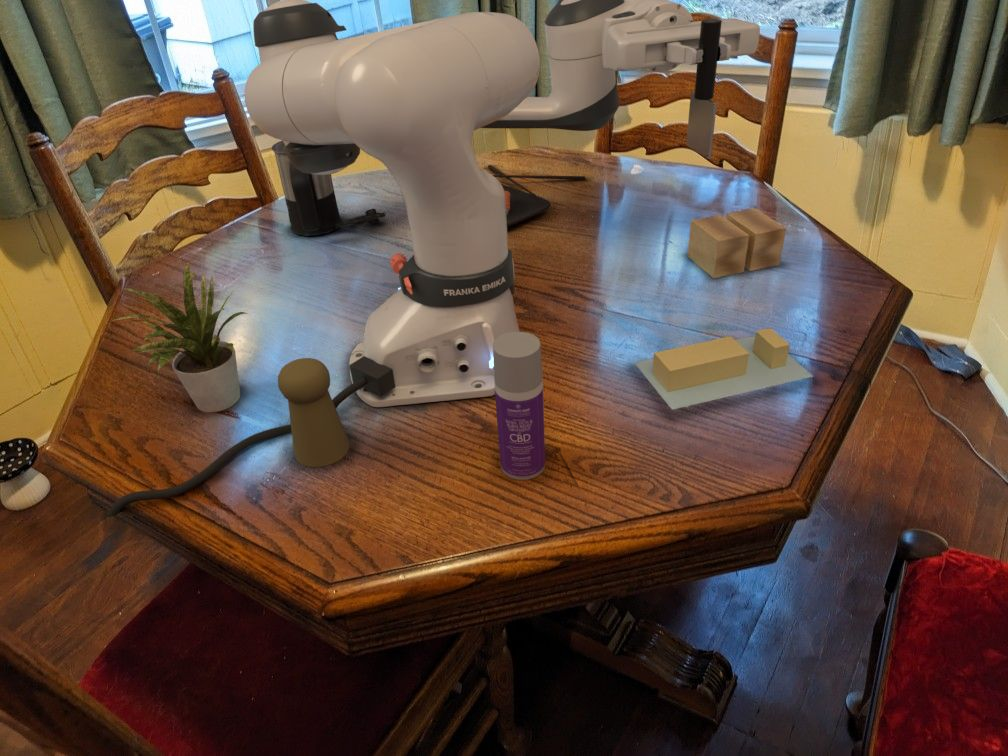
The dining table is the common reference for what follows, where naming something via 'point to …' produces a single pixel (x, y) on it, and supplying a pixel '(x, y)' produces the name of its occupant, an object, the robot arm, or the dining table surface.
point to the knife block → (735, 242)
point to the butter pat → (771, 348)
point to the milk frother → (312, 199)
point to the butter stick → (700, 363)
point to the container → (519, 404)
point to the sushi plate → (525, 197)
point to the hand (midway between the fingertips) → (711, 55)
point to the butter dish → (728, 380)
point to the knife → (704, 91)
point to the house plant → (195, 347)
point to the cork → (312, 413)
